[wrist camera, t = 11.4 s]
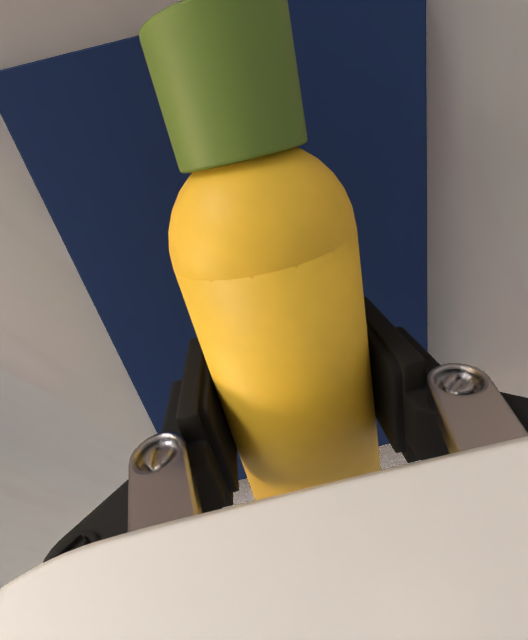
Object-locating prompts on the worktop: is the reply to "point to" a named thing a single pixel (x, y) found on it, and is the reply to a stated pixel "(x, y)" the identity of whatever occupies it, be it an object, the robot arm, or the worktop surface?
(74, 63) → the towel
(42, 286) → the worktop surface
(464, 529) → the robot arm
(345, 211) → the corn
